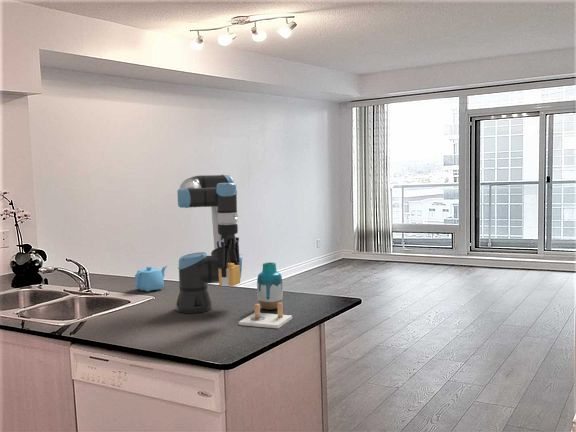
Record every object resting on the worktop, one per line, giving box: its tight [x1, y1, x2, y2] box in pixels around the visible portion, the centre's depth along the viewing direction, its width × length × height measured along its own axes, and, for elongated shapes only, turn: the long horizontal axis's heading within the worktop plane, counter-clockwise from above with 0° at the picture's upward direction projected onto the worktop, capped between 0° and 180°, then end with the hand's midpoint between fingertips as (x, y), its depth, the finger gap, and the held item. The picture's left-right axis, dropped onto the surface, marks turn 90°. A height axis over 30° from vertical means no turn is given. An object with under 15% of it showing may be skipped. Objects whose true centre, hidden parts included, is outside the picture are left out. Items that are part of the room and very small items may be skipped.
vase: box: [256, 261, 284, 310], centre depth 232 cm, size 11×11×19 cm
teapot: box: [134, 265, 168, 293], centre depth 276 cm, size 12×18×12 cm
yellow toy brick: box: [218, 263, 241, 287], centre depth 214 cm, size 6×6×8 cm
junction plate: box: [238, 301, 293, 329], centre depth 213 cm, size 16×14×7 cm
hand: (229, 283), depth 215 cm, fingers closed on yellow toy brick, 6 cm apart
